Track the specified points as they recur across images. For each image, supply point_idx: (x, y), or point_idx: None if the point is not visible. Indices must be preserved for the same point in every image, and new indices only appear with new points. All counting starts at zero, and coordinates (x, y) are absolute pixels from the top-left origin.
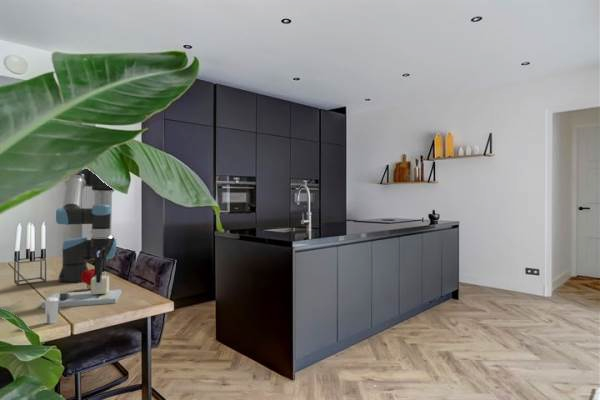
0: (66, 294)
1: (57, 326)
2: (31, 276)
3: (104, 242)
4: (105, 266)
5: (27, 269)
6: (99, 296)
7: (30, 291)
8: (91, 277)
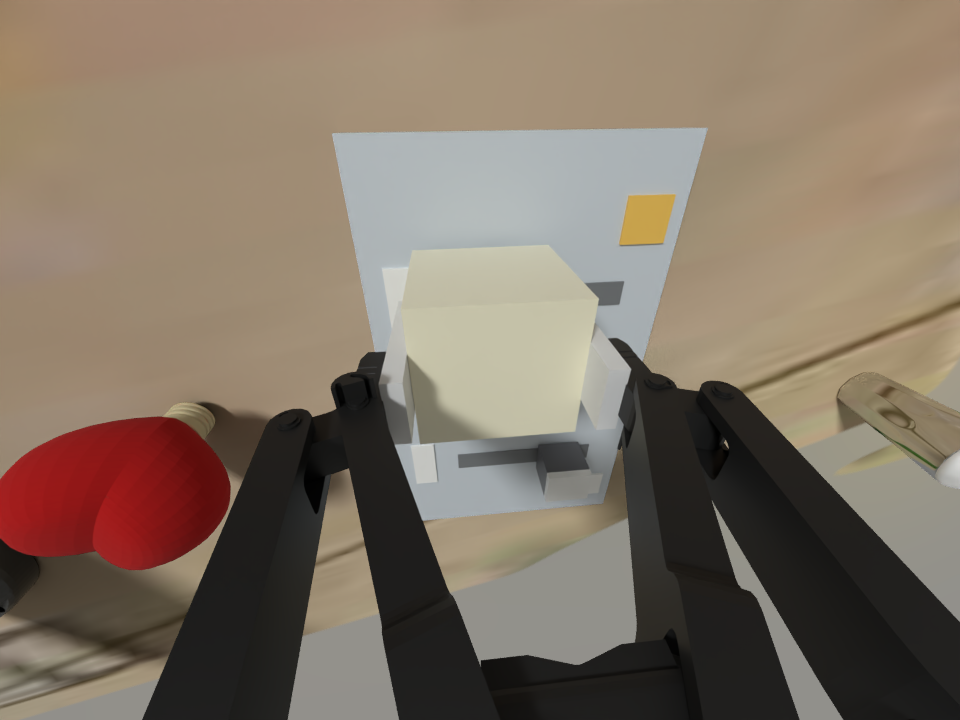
0: (584, 463)
1: (940, 349)
2: None
3: None
4: (306, 446)
5: None
6: None
7: None
8: (189, 469)
